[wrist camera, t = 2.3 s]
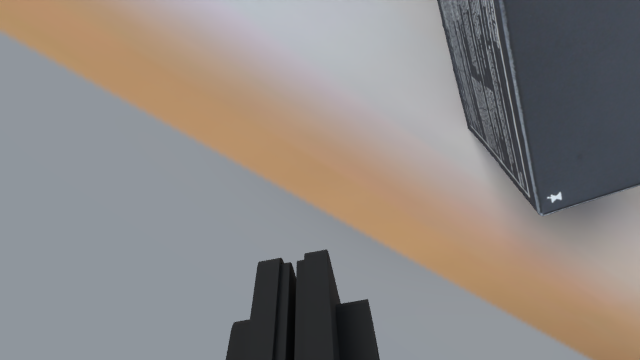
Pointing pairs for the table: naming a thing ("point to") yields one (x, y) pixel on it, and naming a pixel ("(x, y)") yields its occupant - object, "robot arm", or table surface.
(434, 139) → the table surface
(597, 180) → the small box
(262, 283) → the robot arm
